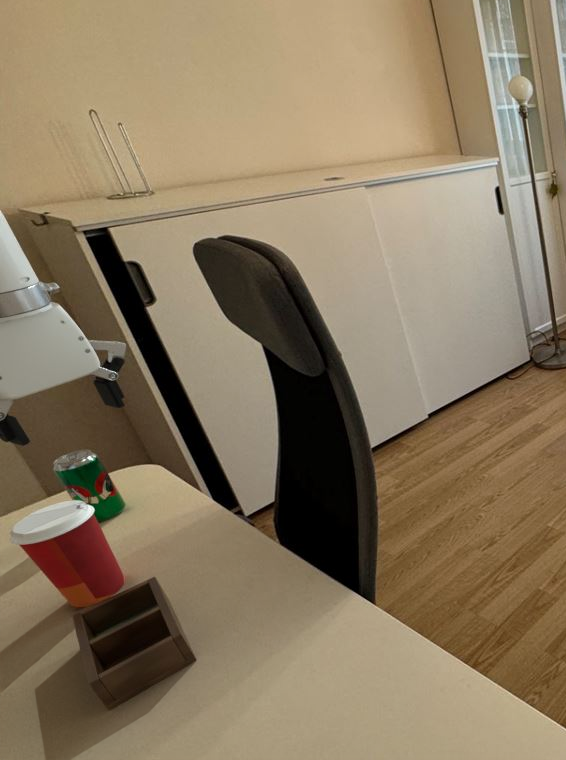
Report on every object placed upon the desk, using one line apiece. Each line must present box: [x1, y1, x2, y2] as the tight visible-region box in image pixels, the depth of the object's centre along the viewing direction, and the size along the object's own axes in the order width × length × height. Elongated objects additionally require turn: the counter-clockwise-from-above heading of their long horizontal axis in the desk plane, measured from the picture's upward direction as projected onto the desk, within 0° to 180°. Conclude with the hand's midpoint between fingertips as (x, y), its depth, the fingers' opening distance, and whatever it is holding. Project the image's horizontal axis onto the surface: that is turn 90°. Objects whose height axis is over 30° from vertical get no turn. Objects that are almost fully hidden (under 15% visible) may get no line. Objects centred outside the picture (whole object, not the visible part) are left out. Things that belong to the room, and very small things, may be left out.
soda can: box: [52, 449, 127, 523], centre depth 94 cm, size 5×5×12 cm
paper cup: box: [9, 499, 126, 608], centre depth 78 cm, size 8×8×14 cm
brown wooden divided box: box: [71, 576, 197, 711], centre depth 71 cm, size 8×15×5 cm, turn 52°
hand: (70, 423), depth 74 cm, fingers open, 9 cm apart
